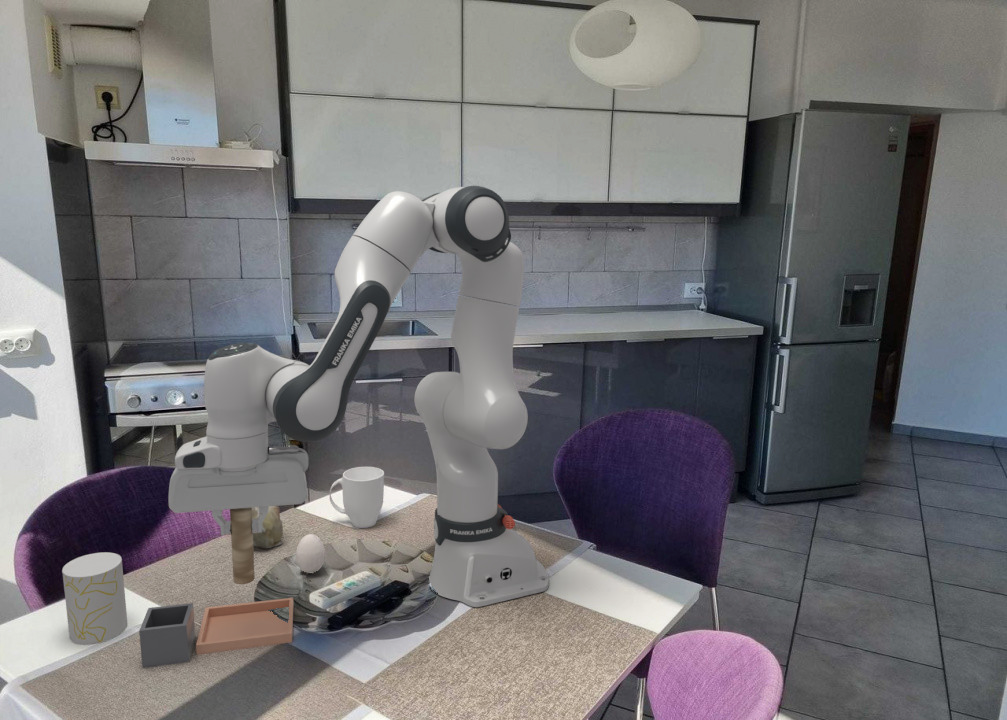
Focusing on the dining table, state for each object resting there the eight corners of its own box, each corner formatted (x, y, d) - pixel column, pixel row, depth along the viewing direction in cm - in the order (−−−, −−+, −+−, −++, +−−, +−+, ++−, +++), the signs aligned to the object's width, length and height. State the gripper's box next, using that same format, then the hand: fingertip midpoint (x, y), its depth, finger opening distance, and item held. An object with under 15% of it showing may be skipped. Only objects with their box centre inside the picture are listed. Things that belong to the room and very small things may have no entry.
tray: (293, 608, 123) (293, 597, 122) (292, 645, 112) (291, 633, 112) (206, 618, 119) (205, 607, 119) (196, 657, 109) (196, 645, 108)
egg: (308, 582, 132) (307, 543, 130) (290, 573, 135) (289, 535, 133) (331, 571, 136) (330, 534, 134) (313, 562, 139) (312, 526, 138)
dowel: (255, 573, 116) (252, 504, 114) (253, 583, 113) (250, 511, 110) (234, 575, 115) (231, 505, 113) (232, 585, 112) (228, 513, 110)
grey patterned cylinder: (62, 651, 110) (54, 579, 107) (78, 622, 117) (71, 555, 115) (121, 644, 112) (114, 573, 109) (132, 616, 119) (126, 550, 117)
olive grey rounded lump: (264, 563, 143) (255, 528, 138) (235, 547, 147) (226, 511, 142) (298, 534, 150) (291, 499, 145) (270, 519, 154) (262, 484, 149)
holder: (195, 640, 113) (193, 602, 112) (189, 665, 107) (186, 625, 106) (151, 646, 111) (148, 607, 110) (142, 671, 105) (139, 630, 104)
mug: (385, 514, 162) (385, 465, 159) (383, 532, 154) (382, 480, 151) (333, 515, 161) (332, 465, 158) (327, 533, 152) (326, 481, 150)
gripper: (308, 439, 115) (310, 519, 118) (170, 446, 110) (176, 529, 113) (308, 451, 109) (310, 535, 112) (163, 459, 104) (168, 547, 107)
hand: (241, 532), depth 112 cm, fingers closed on dowel, 3 cm apart
